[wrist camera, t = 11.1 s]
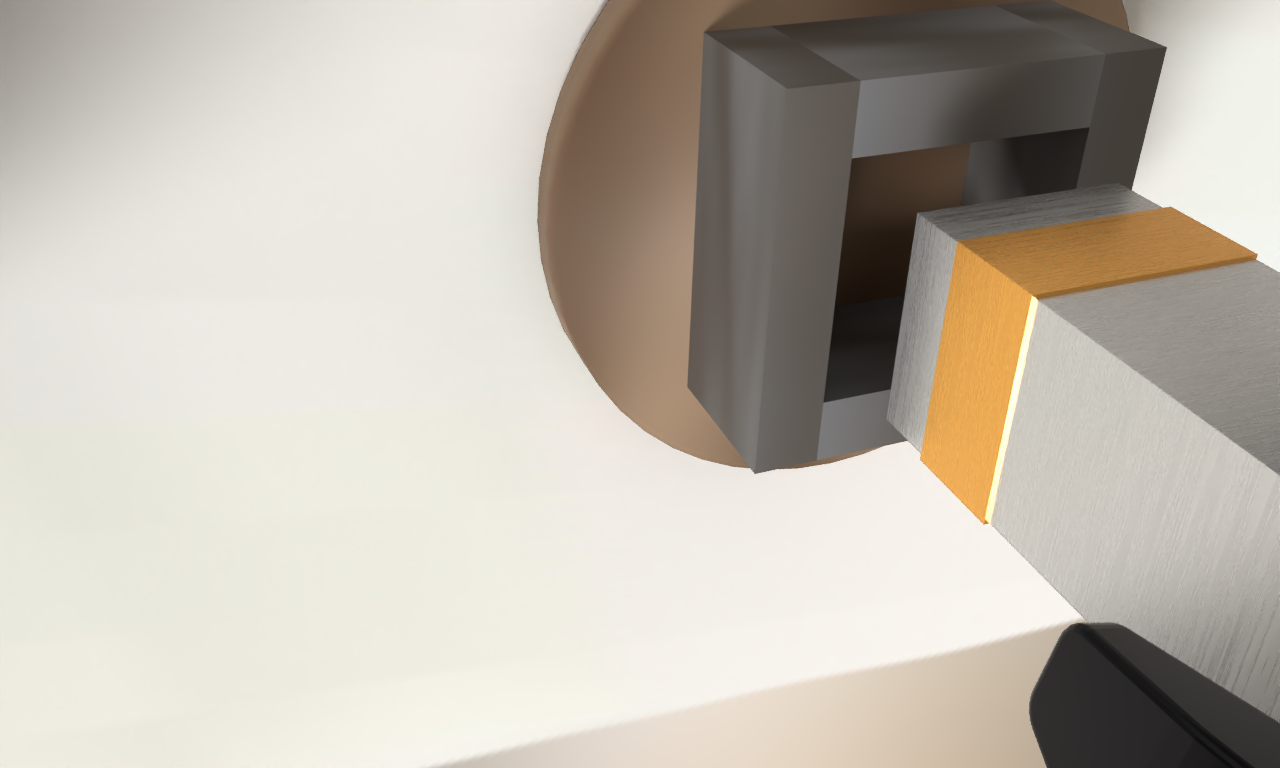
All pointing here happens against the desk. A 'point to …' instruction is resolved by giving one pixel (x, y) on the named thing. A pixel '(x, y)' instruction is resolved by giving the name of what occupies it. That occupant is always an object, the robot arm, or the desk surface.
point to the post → (1109, 412)
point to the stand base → (803, 193)
